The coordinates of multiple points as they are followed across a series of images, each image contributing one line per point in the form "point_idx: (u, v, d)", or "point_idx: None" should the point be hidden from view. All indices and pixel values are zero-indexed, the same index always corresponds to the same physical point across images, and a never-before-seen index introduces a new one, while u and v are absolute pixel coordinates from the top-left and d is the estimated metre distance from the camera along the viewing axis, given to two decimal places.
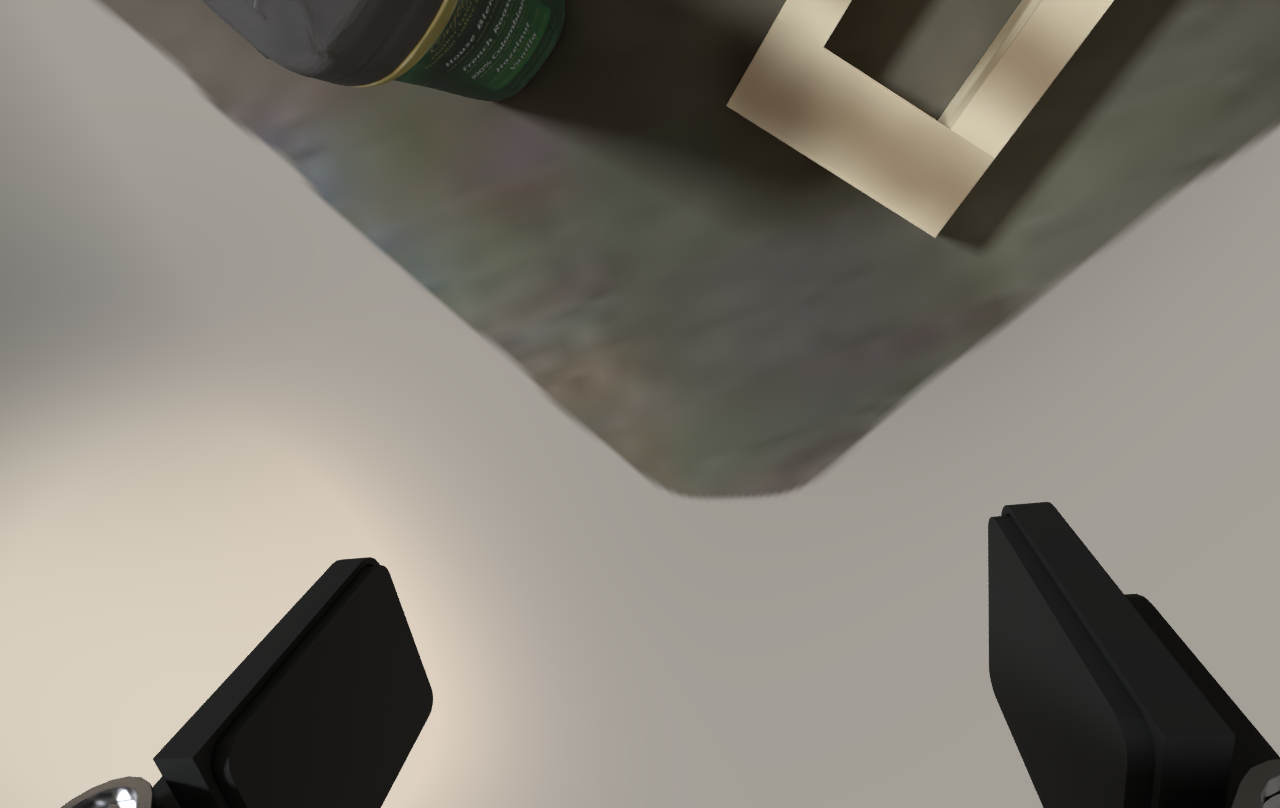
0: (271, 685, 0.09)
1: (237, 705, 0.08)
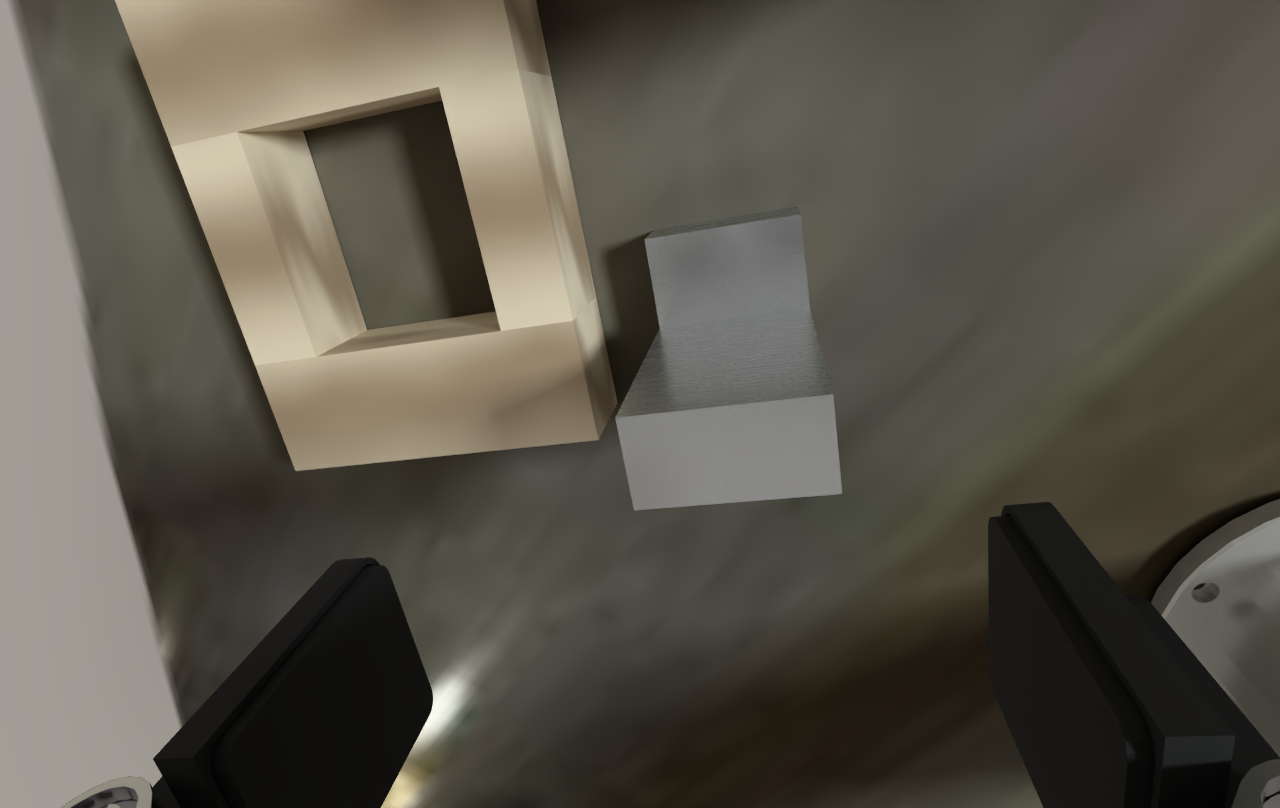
0: (271, 685, 0.09)
1: (237, 705, 0.08)
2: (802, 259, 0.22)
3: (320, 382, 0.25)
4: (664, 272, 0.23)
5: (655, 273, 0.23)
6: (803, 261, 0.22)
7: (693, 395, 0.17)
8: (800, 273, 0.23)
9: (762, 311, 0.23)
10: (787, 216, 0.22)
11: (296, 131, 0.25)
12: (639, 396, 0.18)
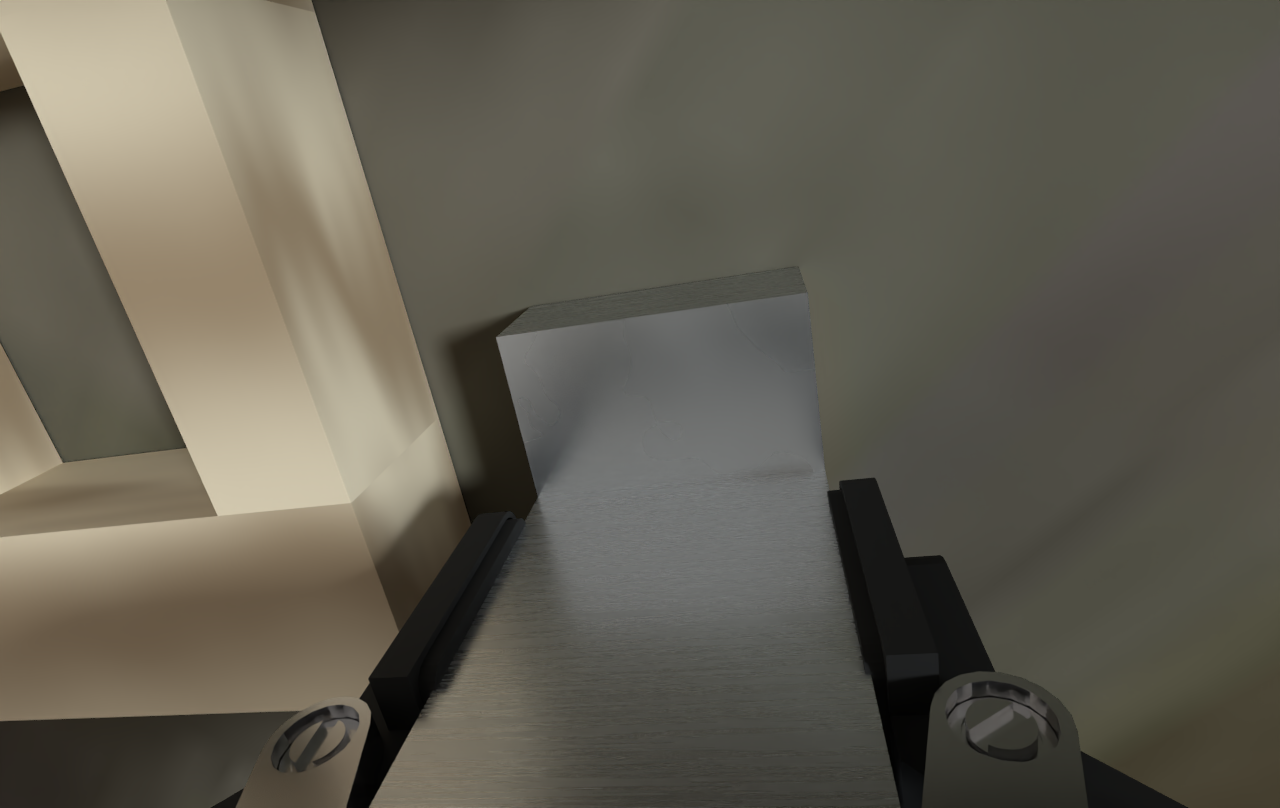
0: (455, 618, 0.09)
1: (432, 635, 0.09)
2: (810, 380, 0.11)
3: None
4: (538, 398, 0.12)
5: (522, 400, 0.12)
6: (812, 384, 0.11)
7: None
8: (806, 406, 0.11)
9: (732, 473, 0.12)
10: (780, 296, 0.11)
11: None
12: None
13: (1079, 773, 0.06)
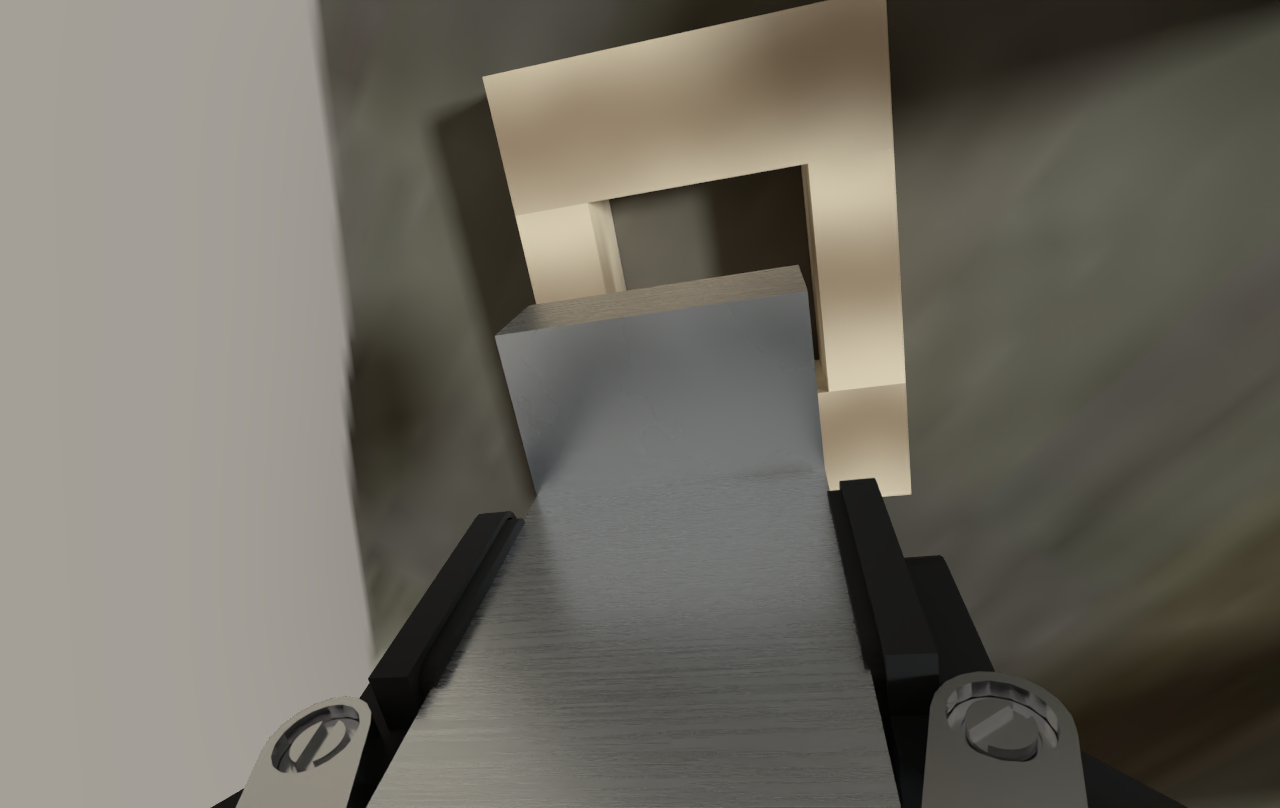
0: (455, 618, 0.09)
1: (432, 635, 0.09)
2: (810, 378, 0.11)
3: None
4: (537, 398, 0.12)
5: (521, 399, 0.12)
6: (812, 382, 0.11)
7: None
8: (806, 405, 0.11)
9: (731, 473, 0.12)
10: (779, 294, 0.11)
11: None
12: None
13: (1079, 773, 0.06)
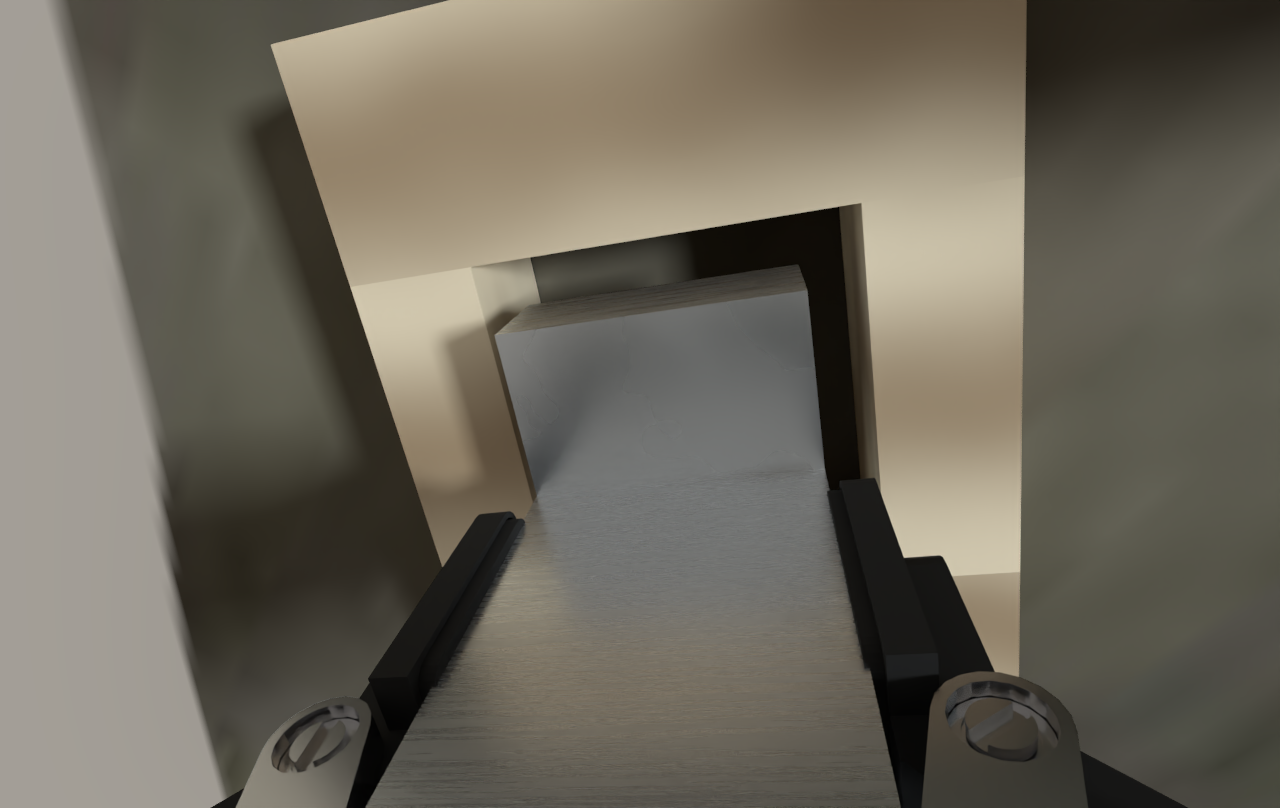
0: (455, 618, 0.09)
1: (432, 634, 0.09)
2: (810, 378, 0.11)
3: None
4: (537, 397, 0.12)
5: (521, 398, 0.12)
6: (812, 382, 0.11)
7: None
8: (806, 404, 0.11)
9: (731, 472, 0.12)
10: (779, 293, 0.11)
11: None
12: None
13: (1079, 773, 0.06)
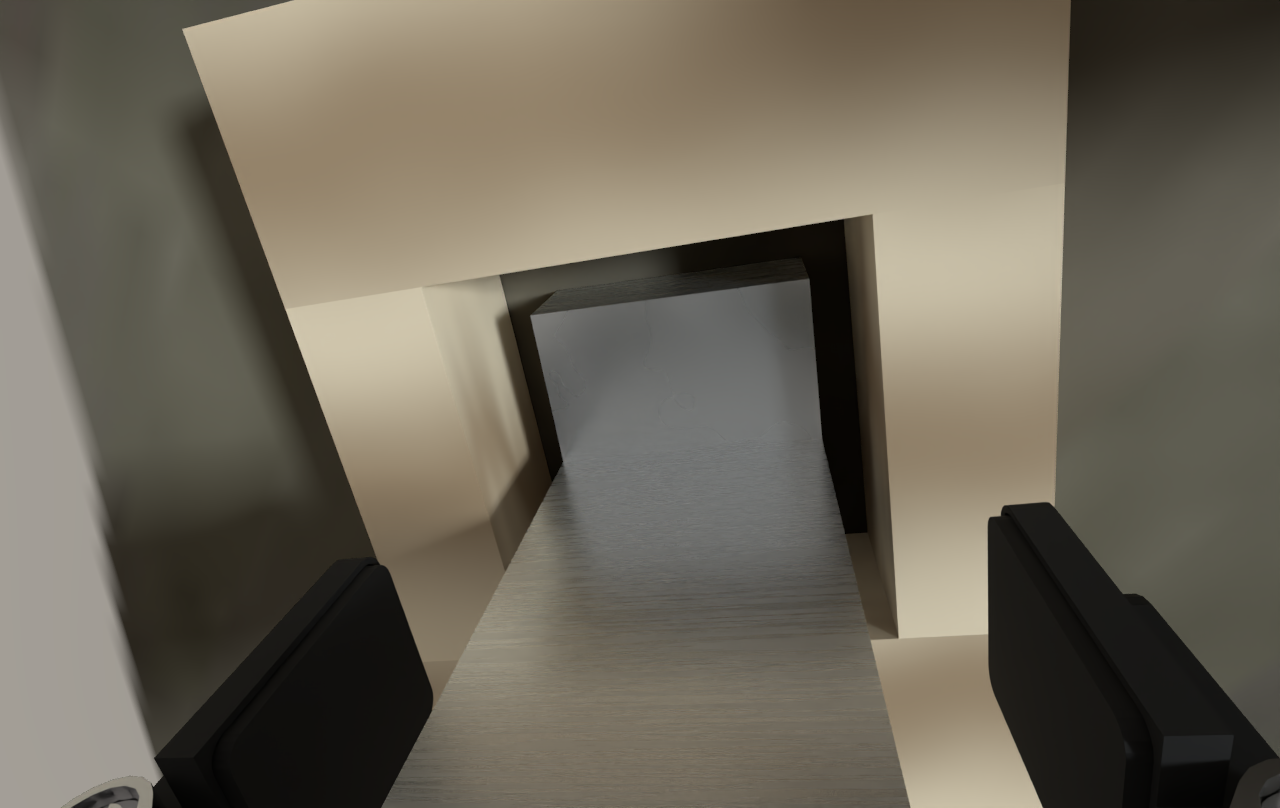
0: (272, 685, 0.09)
1: (238, 706, 0.08)
2: (810, 357, 0.12)
3: None
4: (567, 371, 0.13)
5: (552, 373, 0.13)
6: (812, 360, 0.12)
7: (567, 762, 0.07)
8: (806, 381, 0.13)
9: (739, 441, 0.13)
10: (784, 281, 0.12)
11: None
12: (450, 733, 0.08)
13: None
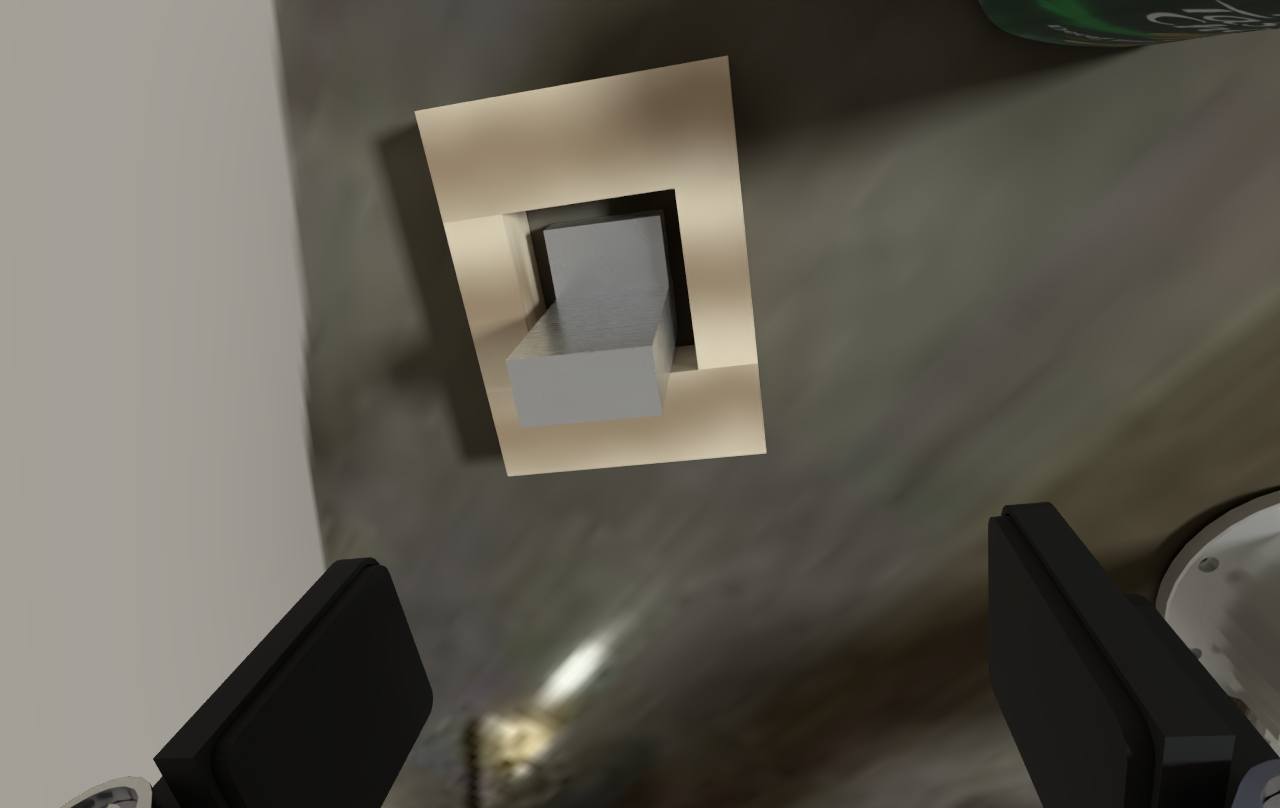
0: (271, 685, 0.09)
1: (237, 706, 0.08)
2: (662, 249, 0.30)
3: None
4: (558, 256, 0.30)
5: (552, 257, 0.30)
6: (663, 251, 0.30)
7: (562, 346, 0.24)
8: (661, 260, 0.30)
9: (633, 288, 0.30)
10: (650, 216, 0.29)
11: None
12: (525, 346, 0.25)
13: None
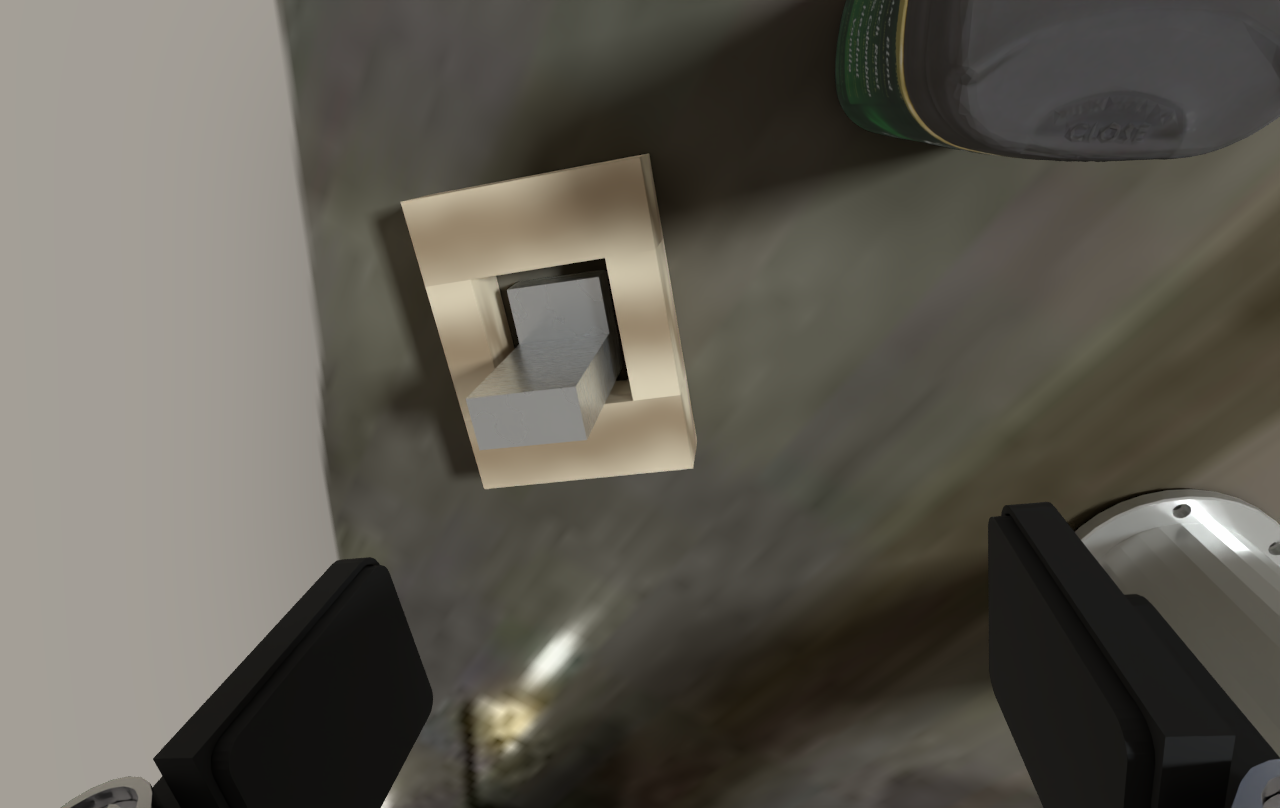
0: (271, 685, 0.09)
1: (237, 706, 0.08)
2: (602, 303, 0.37)
3: None
4: (519, 309, 0.37)
5: (514, 310, 0.37)
6: (602, 305, 0.37)
7: (510, 387, 0.31)
8: (601, 312, 0.37)
9: (581, 334, 0.37)
10: (591, 277, 0.36)
11: None
12: (483, 387, 0.32)
13: None
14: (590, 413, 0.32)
